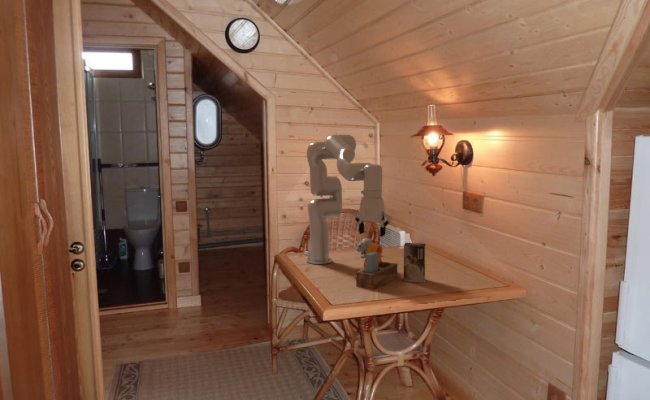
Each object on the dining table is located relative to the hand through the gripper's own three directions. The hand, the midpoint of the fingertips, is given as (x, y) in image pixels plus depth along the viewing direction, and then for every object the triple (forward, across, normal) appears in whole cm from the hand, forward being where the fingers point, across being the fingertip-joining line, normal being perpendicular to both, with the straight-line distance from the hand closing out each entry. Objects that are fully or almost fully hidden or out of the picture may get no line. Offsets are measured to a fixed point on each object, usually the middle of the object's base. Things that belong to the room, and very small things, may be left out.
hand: (371, 234), depth 211 cm
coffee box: (+22, +13, +15) cm, 30 cm away
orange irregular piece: (+22, -9, +23) cm, 33 cm away
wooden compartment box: (+22, 0, +5) cm, 22 cm away
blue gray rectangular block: (+20, 0, 0) cm, 20 cm away
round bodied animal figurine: (+22, -28, +46) cm, 58 cm away
